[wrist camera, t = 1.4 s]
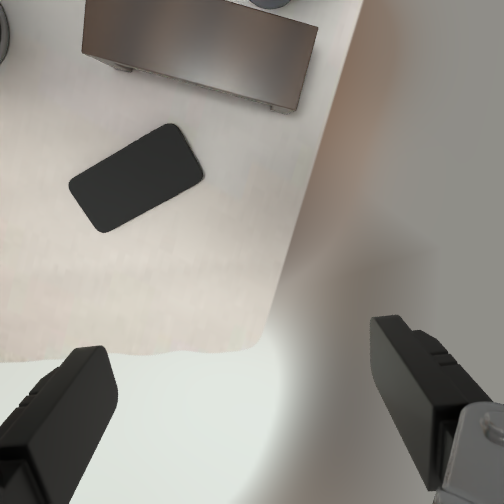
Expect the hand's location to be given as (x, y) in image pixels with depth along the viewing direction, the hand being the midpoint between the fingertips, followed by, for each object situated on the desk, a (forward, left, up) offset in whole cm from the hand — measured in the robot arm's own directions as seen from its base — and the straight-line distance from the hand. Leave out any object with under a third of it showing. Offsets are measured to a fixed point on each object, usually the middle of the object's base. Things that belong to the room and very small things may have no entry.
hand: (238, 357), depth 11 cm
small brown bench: (-13, +7, -33) cm, 36 cm away
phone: (-11, -8, -33) cm, 36 cm away
